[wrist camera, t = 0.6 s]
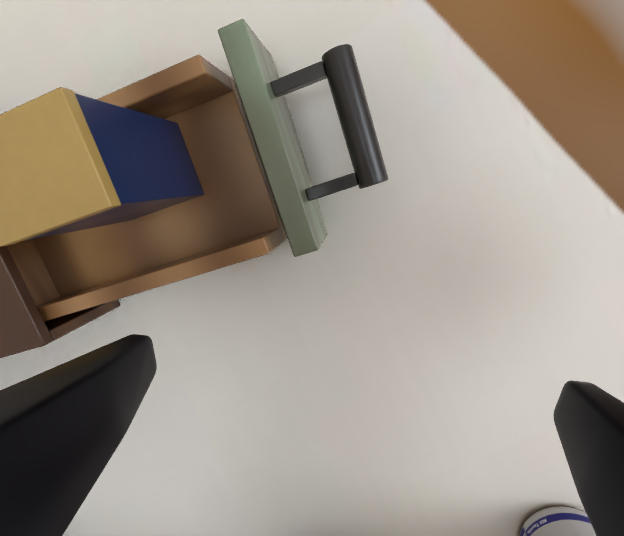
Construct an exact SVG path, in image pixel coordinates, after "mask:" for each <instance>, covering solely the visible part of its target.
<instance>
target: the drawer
mask: <svg viewBox="0 0 624 536" xmlns="http://www.w3.org/2000/svg"><path fill="white" fill-rule="evenodd" d="M218 33H219V36H220V39H221V42H222V45H223V48H224V51H225V54H226V57H227V60H228V63H229V66H230V68H231V71H232V74H233V77H234V80H235V83H236V86H237V89H238V92H239V95H240V98H241V101H242V104H243V107H244V109H243V107H242V104H241V101H240V98H239V95H238V92H237V89H236V86H235V83H234V80H233V79H232V78H230V77H229V76H227V75H226V74H225V73H223V72H222V71H220V70H219V69H218V68H216V67H215V66H214V65H212V64H211V63H210V62H208V61H207V60H206V59H204V58H203V57H202V56H200V55H196V56H194V57H192V58H190V59H187V60H185V61H183V62H180V63H178V64H176V65H174V66H171V67H169V68H167V69H165V70H162V71H160V72H158V73H156V74H153V75H151V76H149V77H147V78H144V79H142V80H140V81H137V82H135V83H133V84H131V85H128V86H126V87H124V88H122V89H119V90H117V91H115V92H113V93H110V94H108V95H106V96H103V97H101V98H99V99H97V100H100V101H103V102H106V103H110V104H113V105H117V106H120V107H124V108H127V109H131V110H134V111H138V112H141V113H145V114H148V115H152V116H155V117H159V118H162V119H166V120H169V121H173V122H176V123H178V125H179V128H180V130H181V133H182V136H183V138H184V141H185V144H186V146H187V149H188V152H189V154H190V157H191V160H192V162H193V165H194V168H195V170H196V173H197V176H198V178H199V181H200V184H201V186H202V189H203V192H204V195H202V196H199V197H196V198H193V199H191V200H188V201H185V202H182V203H179V204H176V205H174V206H171V207H168V208H165V209H162V210H159V211H156V212H154V213H151V214H148V215H145V216H142V217H139V218H137V219H134V220H131V221H126V222H121V223H116V224H110V225H105V226H100V227H95V228H89V229H84V230H79V231H73V232H68V233H63V234H58V235H52V236H47V237H42V238H36V239H31V240H26V241H21V242H19V243H16V244H13V245H7V247H8V249H9V251H10V253H11V255H12V257H13V259H14V262H15V264H16V266H17V268H18V270H19V272H20V274H21V276H22V278H23V280H24V282H25V284H26V286H27V288H28V290H29V292H30V294H31V296H32V298H33V300H34V302H35V304H36V306H37V308H38V310H39V312H40V314H41V316H42V318H43V320H44V322H45V321H48V320H51V319H54V318H58V317H61V316H64V315H68V314H71V313H74V312H78V311H81V310H84V309H87V308H91V307H94V306H97V305H101V304H104V303H107V302H110V301H114V300H117V299H120V298H124V297H127V296H130V295H134V294H137V293H140V292H143V291H147V290H150V289H153V288H157V287H160V286H163V285H166V284H170V283H173V282H176V281H180V280H183V279H186V278H190V277H193V276H196V275H199V274H203V273H206V272H209V271H213V270H216V269H219V268H222V267H226V266H229V265H232V264H236V263H239V262H242V261H246V260H249V259H252V258H255V257H259V256H262V255H265V254H268V253H270V252H271V251H272V250H273V249H275V248H276V247H277V246H278V245H280V244H281V243H282V242H283V241H284V240H286V239H287V237H288V240H289V243H290V246H291V249H292V252H293V255H294V256H295V257H296V256H300V255H303V254H306V253H310V252H313V251H317V250H318V249H319V247H320V246H321V244H322V243H323V241H324V239H325V238H326V236H327V235H328V233H327V230H326V227H325V224H324V221H323V218H322V215H321V211H320V208H319V205H318V202H317V198H320V197H323V196H326V195H330V194H333V193H336V192H339V191H342V190H345V189H348V188H351V187H354V186H357V185H359V188H360V189H362V188H365V187H369V186H372V185H375V184H378V183H381V182H384V181H386V180H388V176H387V173H386V169H385V165H384V162H383V158H382V154H381V151H380V147H379V143H378V140H377V136H376V133H375V129H374V125H373V122H372V118H371V114H370V111H369V107H368V103H367V100H366V96H365V93H364V89H363V85H362V82H361V78H360V74H359V71H358V67H357V63H356V60H355V56H354V52H353V49H352V46H351V45H349V44H345V45H340V46H337V47H334V48H332V49H330V50H329V51H327V52H326V53H325V54H324V55H323V56H322V61H321V62H318V63H316V64H313V65H311V66H308V67H306V68H304V69H301V70H299V71H296V72H294V73H291V74H289V75H286V76H284V77H281V78H279V79H278V75H277V72H276V69H275V66H274V63H273V60H272V56H271V54H270V53H269V52H268V50H267V49H266V48H265V46H264V45H263V44H262V42H261V41H260V40H259V39H258V37H257V36H256V35H255V33H254V32H253V31H252V29H251V28H250V27H249V25H248V24H247V23H246V22H245V20H244V19H241V20H238V21H236V22H234V23H232V24H230V25H227V26H225V27H223V28H221V29H219V30H218ZM326 78H327V79H328V83H329V86H330V89H331V93H332V96H333V100H334V103H335V107H336V110H337V113H338V117H339V120H340V124H341V127H342V131H343V134H344V137H345V141H346V144H347V148H348V151H349V155H350V158H351V161H352V165H353V168H354V172H355V173H352V174H349V175H346V176H343V177H340V178H337V179H334V180H331V181H328V182H325V183H322V184H319V185H316V186H312V183H311V180H310V177H309V173H308V170H307V167H306V164H305V161H304V158H303V154H302V151H301V148H300V145H299V142H298V139H297V135H296V132H295V129H294V126H293V123H292V120H291V116H290V113H289V110H288V107H287V104H286V101H285V97H284V95H285V94H288V93H290V92H293V91H295V90H298V89H300V88H303V87H306V86H308V85H311V84H313V83H316V82H318V81H321V80H323V79H326ZM244 110H245V112H244ZM245 113H246V115H245ZM246 116H247V118H246ZM247 119H248V121H247ZM248 122H249V124H248ZM249 125H250V127H249ZM250 128H251V130H250ZM251 131H252V133H253V136H254V139H255V142H256V145H257V148H258V151H259V154H260V157H261V160H262V163H263V166H264V168H263V166H262V163H261V160H260V157H259V154H258V151H257V148H256V145H255V142H254V139H253V136H252V133H251ZM264 169H265V171H264ZM265 172H266V174H265ZM266 175H267V177H266ZM267 178H268V180H267ZM268 181H269V183H268ZM269 184H270V186H269ZM270 187H271V189H270ZM271 190H272V192H271ZM272 193H273V195H272ZM273 196H274V198H275V201H276V204H277V207H278V210H279V213H280V216H281V219H282V222H283V225H284V227H283V225H282V222H281V219H280V216H279V213H278V210H277V207H276V204H275V201H274V198H273ZM284 228H285V230H284ZM285 231H286V233H285ZM286 234H287V236H286Z"/></svg>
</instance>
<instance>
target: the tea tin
mask: <svg viewBox="0 0 624 536" xmlns="http://www.w3.org/2000/svg"><path fill="white" fill-rule="evenodd" d="M202 195H204V192H203V189H202V186H201V184H200V181H199V178H198V176H197V173H196V170H195V168H194V165H193V162H192V160H191V157H190V154H189V152H188V149H187V146H186V144H185V141H184V138H183V136H182V133H181V130H180V128H179V125H178V123H176V122H173V121H169V120H166V119H162V118H159V117H155V116H152V115H148V114H145V113H141V112H138V111H134V110H131V109H127V108H124V107H120V106H117V105H113V104H110V103H106V102H103V101H100V100H96V99H93V98H89V97H86V96H82V95H79V94H75V93H74V92H73V91H72V90H69V89H65V88H62V87H60V88H57V89H55V90H53V91H51V92H49V93H46V94H44V95H42V96H40V97H38V98H36V99H33V100H31V101H29V102H27V103H25V104H23V105H20V106H18V107H16V108H14V109H12V110H10V111H7V112H5V113H3V114H1V115H0V246H7V245H13V244H16V243H19V242H21V241H26V240H31V239H36V238H42V237H47V236H52V235H58V234H63V233H68V232H73V231H79V230H84V229H89V228H95V227H100V226H105V225H110V224H116V223H121V222H126V221H131V220H134V219H137V218H139V217H142V216H145V215H148V214H151V213H154V212H156V211H159V210H162V209H165V208H168V207H171V206H174V205H176V204H179V203H182V202H185V201H188V200H191V199H193V198H196V197H199V196H202Z"/></svg>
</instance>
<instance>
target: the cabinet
mask: <svg viewBox="0 0 624 536" xmlns="http://www.w3.org/2000/svg"><path fill="white" fill-rule="evenodd" d="M119 306H120V303H119V301H118V299H117V300H114V301H110V302H107V303H104V304H101V305H97V306H94V307H91V308H87V309H84V310H81V311H78V312H74V313H71V314H68V315H64V316H61V317H58V318H54V319H51V320H48V321H45V322H44V320H43V318H42V316H41V314H40V312H39V310H38V308H37V306H36V304H35V302H34V300H33V298H32V296H31V294H30V292H29V290H28V288H27V286H26V284H25V282H24V280H23V278H22V276H21V274H20V272H19V270H18V268H17V266H16V264H15V262H14V259H13V257H12V255H11V253H10V251H9V249H8V247H7V246H0V358H3V357H6V356H10V355H13V354H16V353H20V352H23V351H27V350H30V349H34V348H37V347H41V346H44V345H47V344H48V343H50V342H52V341H54V340H56V339H58V338H60V337H62V336H64V335H66V334H67V333H69V332H71V331H73V330H75V329H77V328H79V327H81V326H83V325H84V324H86V323H88V322H90V321H92V320H94V319H96V318H98V317H100V316H101V315H103V314H105V313H107V312H109V311H111V310H113V309H115V308H117V307H119Z"/></svg>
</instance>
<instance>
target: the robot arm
mask: <svg viewBox="0 0 624 536" xmlns="http://www.w3.org/2000/svg"><path fill="white" fill-rule="evenodd" d="M156 366H157V365H156V359H155V354H154V348H153V343H152V340H151V338H150V337H148V336H145V335H135V334H133V335H129V336H127V337H124V338H122V339H120V340H117V341H115V342H113V343H110V344H108V345H106V346H103V347H101V348H99V349H96V350H94V351H92V352H89V353H87V354H85V355H82V356H80V357H78V358H75V359H73V360H71V361H68V362H66V363H64V364H61V365H59V366H57V367H54V368H52V369H50V370H47V371H45V372H43V373H40V374H38V375H36V376H33V377H31V378H29V379H26V380H24V381H22V382H19V383H17V384H15V385H12V386H10V387H8V388H5V389H3V390H1V391H0V536H62V535H63V534H64V532H65V530H66V529H67V527H68V526H69V524H70V522H71V521H72V519H73V518H74V516H75V514H76V513H77V511H78V509H79V508H80V506H81V505H82V503H83V501H84V500H85V498H86V497H87V495H88V493H89V492H90V490H91V489H92V487H93V485H94V484H95V482H96V481H97V479H98V477H99V476H100V474H101V473H102V471H103V469H104V468H105V466H106V465H107V463H108V461H109V460H110V458H111V457H112V455H113V453H114V452H115V450H116V448H117V447H118V445H119V444H120V442H121V440H122V439H123V437H124V435H125V433H126V431H127V430H128V428H129V426H130V424H131V422H132V420H133V418H134V416H135V414H136V412H137V410H138V408H139V406H140V404H141V402H142V400H143V398H144V396H145V394H146V392H147V390H148V388H149V386H150V384H151V382H152V380H153V378H154V375H155V373H156ZM554 422H555V425H556V428H557V431H558V434H559V437H560V440H561V443H562V446H563V450H564V453H565V456H566V459H567V462H568V465H569V468H570V471H571V474H572V477H573V480H574V483H575V486H576V488H577V491H578V494H579V497H580V499H581V502H582V504H583V506H584V509H585V511H586V514H587V516H588V518H589V520H590V522H591V525H592V527H593V529H594V531H595V534H596V536H624V403H623V402H621V401H620V400H618V399H617V398H615V397H613V396H612V395H610V394H609V393H607V392H605V391H604V390H602V389H601V388H599V387H597V386H596V385H594V384H592V383H588V382H579V381H568V382H567V383H566V384H565V385H564V387H563V389H562V392H561V394H560V397H559V400H558V402H557V405H556V407H555V410H554Z"/></svg>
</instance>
